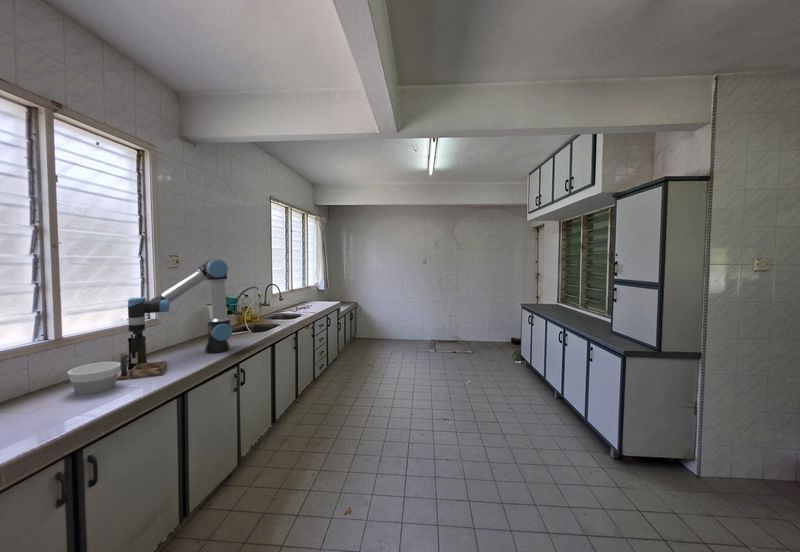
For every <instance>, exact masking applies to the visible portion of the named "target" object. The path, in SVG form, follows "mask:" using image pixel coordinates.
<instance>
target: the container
mask: <svg viewBox="0 0 800 552" xmlns="http://www.w3.org/2000/svg"><path fill="white" fill-rule="evenodd" d="M146 339H147V337H146V336H144V335H143V336H142V337H140V339H137V341H138V347H137V354H138V363H134V364H131V357H128V364H127V370H132V369H133V368H134V367H135V366H136V364H142V363H149V362H148V361H147V358H148V357H147V346H146V345H147V343H146ZM127 341H128V354H131V353H129V351H130V345H131V337H129V338H127Z"/></svg>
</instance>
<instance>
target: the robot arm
mask: <svg viewBox="0 0 800 552" xmlns="http://www.w3.org/2000/svg"><path fill="white" fill-rule="evenodd" d="M228 271H229V267H228V265H227V263H226V262H225V261H224V260H222V259H220V258H211V259H209V260H207V261H206V262H205V263H204V264H202V265H201V266H200V267H198V268H197V270H196V271H194V272H193V273H192V274H190V275H188V276H187V277H185V278H184V279H182V280H180V281H179V282H178V283H176V284H174V285H173V286H171V287H169V288H167V290H165V291H163V292H162V293H161V294H159V295H157V296H155V297H153V298H151V299H150V300H145V298H144V297H130V298H129V299H128V300H127V314H128V315H127V316H128V318H127V321H128V332H131V333H132V334H131V335H130V338H131V345H130V351H129V350H128V354H129V353H131V364H134V363H138V354H137V347H138V341H137V339H140V337H142V336H144V334H143V333H144V332H143V331H145V330H146V324H145V323H146V316H145V314H155V313H156V314H157V313H158V314H159V313H167V312H168V313H169V311H170V303H172V302H173V301H175V300H176V299H178V298H179V297H181V296H182V295H184V294H186V293H187V292H188V291H190V290H191V289H193V288H194V287H196V286H197V285H199V284H201V283H202V282H203V281H205V280H206V281H208V283H210V284H209V288H210V297H211V298H210V301H211V302H210V303H211V312H212V313H211V314H212V318H208V320H207V342H206V345H205V349H204V352H205V353H206V354H217V353H218V354H219V353H226V352H228V351H229V350H231V349H230V343H229V341H228V339H229V338H230V337H231V336H232V333H233V329H232V327H231V318H229V317H228V312H227V311H228V310H227V296H226V295H227V294H226V281H227V280H228Z"/></svg>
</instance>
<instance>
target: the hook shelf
mask: <svg viewBox="0 0 800 552" xmlns="http://www.w3.org/2000/svg"><path fill="white" fill-rule="evenodd" d="M129 357H131V354H129V353H128V354H127V352H123V353H120V363H121V366H120V374H118V377H117V380H116V382H117V381H125V380H132V379H134V380H135V379H141V378H149V377H157V376H158V377H159V376H162V375H163V374H164V373H165V371H166V369H167V367H168V366H167V362H168V361H167V360H162V361H154V362H153V361H152V362H148V363H142V364H136V366H135V367H134V368H133V369H132V370H128V364H127V363H128V362H127V360H128V359H129Z"/></svg>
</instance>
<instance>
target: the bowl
mask: <svg viewBox="0 0 800 552" xmlns="http://www.w3.org/2000/svg"><path fill="white" fill-rule="evenodd" d="M120 371H121V362H119V361H101V362H96V363H95V362H94V363H87V364H84V365H81V366H77V367H76V366H75V367H74V368H72V369H70V370H68V371H67V376H68V378H69V380H70V382H71V385H72V388H73V389H74V392H75V395H79V396H81V395H82V396H85V395H86V396H87V395H95V394H98V393H99V394H100V393H103V392H106V391H109V390H111V389H113V388H114V387H116V383H117V381H116V380H117V377H118V376H119V373H120Z"/></svg>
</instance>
